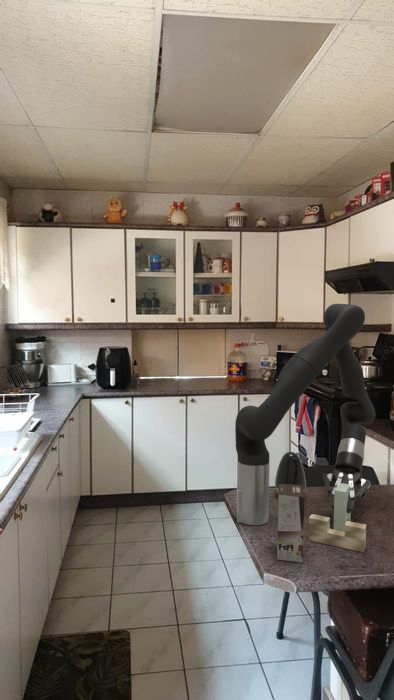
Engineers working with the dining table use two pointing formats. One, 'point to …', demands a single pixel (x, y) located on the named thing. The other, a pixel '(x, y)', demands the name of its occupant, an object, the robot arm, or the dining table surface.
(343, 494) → the mint green upright block
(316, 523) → the birch slotted plate
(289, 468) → the dark grey rounded-top part
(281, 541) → the coffee box
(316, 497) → the dining table surface
